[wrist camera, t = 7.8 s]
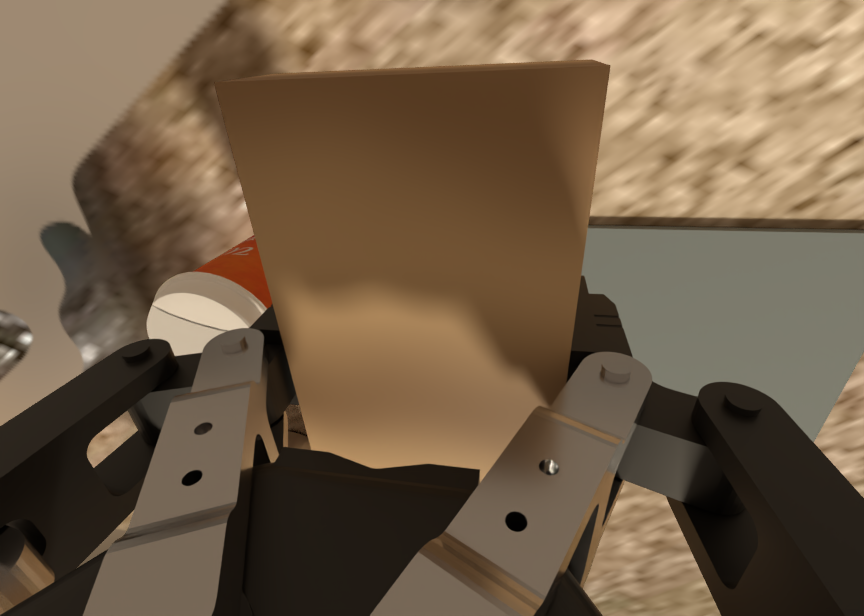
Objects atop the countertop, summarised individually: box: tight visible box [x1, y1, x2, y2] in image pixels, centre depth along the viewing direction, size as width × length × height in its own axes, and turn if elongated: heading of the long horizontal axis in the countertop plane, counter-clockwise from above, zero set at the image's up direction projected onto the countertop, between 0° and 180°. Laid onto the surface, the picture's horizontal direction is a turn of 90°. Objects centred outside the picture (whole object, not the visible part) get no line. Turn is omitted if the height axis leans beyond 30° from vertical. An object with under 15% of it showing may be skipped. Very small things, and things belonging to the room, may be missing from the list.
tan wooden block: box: [214, 60, 610, 482], centre depth 13 cm, size 12×6×9 cm, turn 3°
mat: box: [581, 225, 864, 442], centre depth 33 cm, size 20×18×1 cm
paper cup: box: [147, 236, 272, 356], centre depth 29 cm, size 8×8×14 cm
